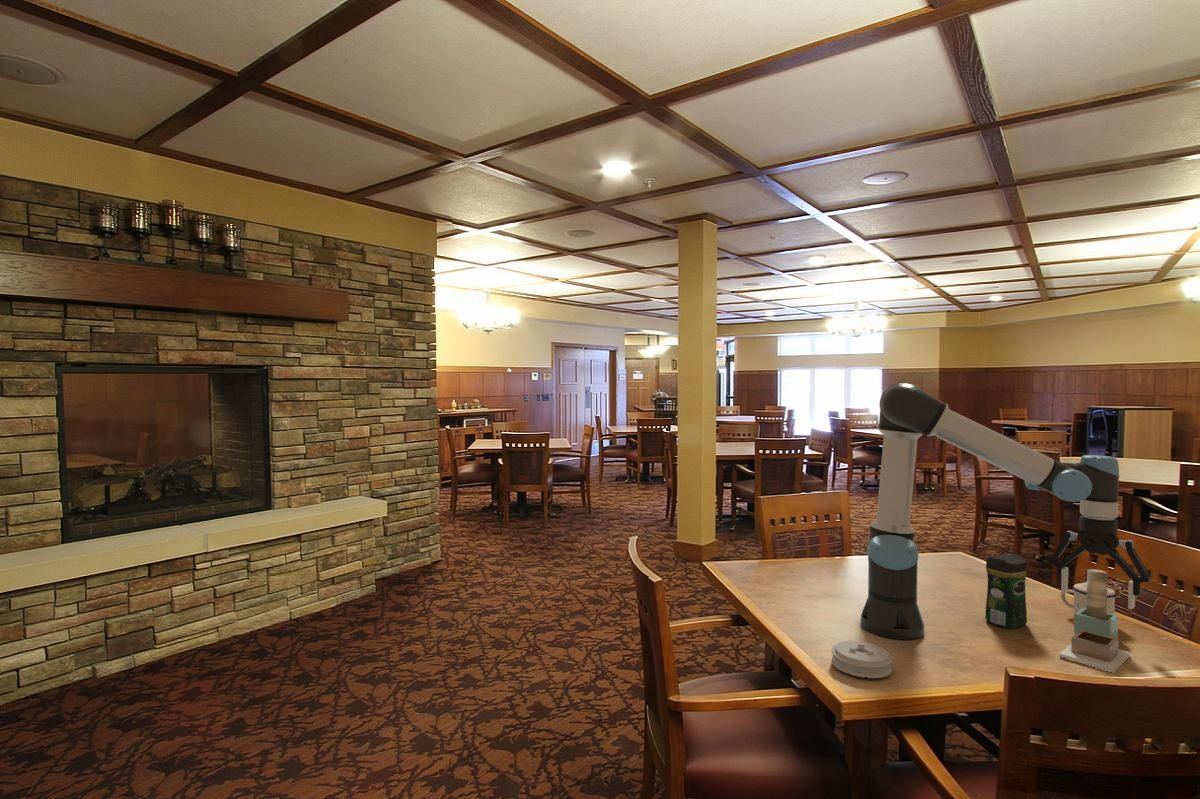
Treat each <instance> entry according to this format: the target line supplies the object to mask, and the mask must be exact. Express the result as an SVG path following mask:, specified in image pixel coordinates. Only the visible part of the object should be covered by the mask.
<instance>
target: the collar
mask: <svg viewBox="0 0 1200 799" xmlns="http://www.w3.org/2000/svg"><path fill="white" fill-rule="evenodd" d="M1070 645H1071V652H1074V653H1078V654H1081V655H1085V656H1088V657H1092V658H1096V659H1099V660H1103V661H1106V662H1111V661H1112V660H1113V659H1114V658H1115V657H1116V656H1117V655H1118V649H1119V638H1118V639H1115V638H1111V637H1107V636H1103V635H1100V634H1096V633H1092V632H1088V631H1084V630H1080V631H1079V632H1077V633H1076V634H1075V635H1074V634H1073V635H1072V636H1071V644H1070Z"/></svg>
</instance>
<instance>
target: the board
mask: <svg viewBox="0 0 1200 799" xmlns="http://www.w3.org/2000/svg"><path fill="white" fill-rule="evenodd" d="M1130 653H1131V652H1130V651H1126V650H1123V649H1119V648H1118V655H1117V656H1116V657H1115V658H1114V659H1113V660H1112V661H1111V662H1106V661H1103V660H1099V659H1096V658H1092V657H1088V656H1085V655H1081V654H1078V653H1074V652H1071V644H1069V645H1068V646H1067V647H1065V649H1063V650H1062V651H1060V653H1059V656H1060V657H1063V658H1067V659H1071V660H1074V661H1077V662H1081V663H1083V664H1087V665H1090V666H1092V667H1091V668H1093V667H1095V668H1094V669H1097V668H1099V669H1098V670H1100V669H1101V671H1104V672H1107V671H1108V672H1107V673H1110V672H1112V673H1111V674H1114V673H1115V672H1116V671H1117V670H1118V669H1119V668H1120V667H1121V666H1122V665H1123V664H1124V662H1126V661H1125V660H1126V659H1127V660H1128V659H1129V658H1130ZM1122 663H1123V664H1122ZM1083 664H1082V665H1083ZM1090 666H1089V667H1090Z"/></svg>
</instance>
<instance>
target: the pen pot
mask: <svg viewBox="0 0 1200 799" xmlns="http://www.w3.org/2000/svg"><path fill="white" fill-rule="evenodd" d="M1086 611H1087V608H1082V609H1081V610H1079V611H1078V612H1077V613H1075V619H1074V630H1073V631H1074V633H1073V636H1074V635H1075V634H1076V633H1077V632H1079V631H1080V630H1084V631H1088V632H1092V633H1096V634H1100V635H1103V636H1107V637H1111V638H1115V639H1119V615H1118V614H1115V613H1114V614H1109V613H1107V620H1103V619H1099V618H1094V617H1090V616H1086Z"/></svg>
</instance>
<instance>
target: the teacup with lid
mask: <svg viewBox="0 0 1200 799" xmlns="http://www.w3.org/2000/svg"><path fill="white" fill-rule="evenodd" d="M1067 593H1069V594H1070V593H1071V594H1073V605H1072V604H1071V603H1069V602H1068V600H1067V599H1066V594H1061V593H1060V598H1061V601H1062V603H1063V604H1064V606H1066V607H1067V608H1069V609H1073V619H1074V618H1075V613H1077V612H1078V611H1079V610H1081V609H1082V608H1087V581H1085V582H1083V583H1076V584H1075V583H1074V585H1073V587H1072V589H1069V588H1068V592H1067ZM1116 596H1117V593H1116V591H1115V590H1113V589H1112V588H1110V587H1108V586H1107V613H1109V614H1114V615H1115V605H1116V604H1115V603H1116V601H1115V600H1116Z"/></svg>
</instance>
